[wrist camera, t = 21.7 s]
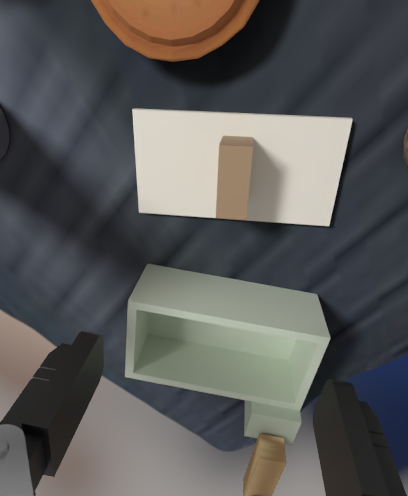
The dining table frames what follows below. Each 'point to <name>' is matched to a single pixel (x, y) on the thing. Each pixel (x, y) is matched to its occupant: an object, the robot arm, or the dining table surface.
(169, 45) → the pie
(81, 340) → the robot arm
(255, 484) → the tan tapered bar
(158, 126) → the lid
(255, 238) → the dining table surface
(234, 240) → the dining table surface
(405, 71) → the dining table surface
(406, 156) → the candle
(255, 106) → the dining table surface
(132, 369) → the light green open box
